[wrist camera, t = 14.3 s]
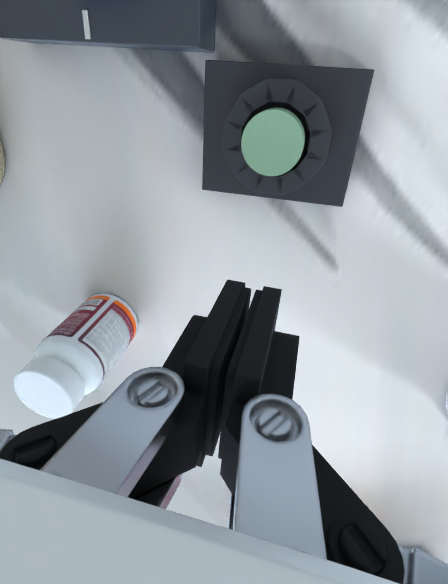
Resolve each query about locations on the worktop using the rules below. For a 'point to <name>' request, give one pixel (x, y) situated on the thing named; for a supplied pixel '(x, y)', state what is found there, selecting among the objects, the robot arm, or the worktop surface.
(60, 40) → the panel
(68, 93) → the worktop surface
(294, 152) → the button
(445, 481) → the worktop surface
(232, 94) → the block
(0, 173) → the planter bowl
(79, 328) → the pill bottle
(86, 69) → the worktop surface
